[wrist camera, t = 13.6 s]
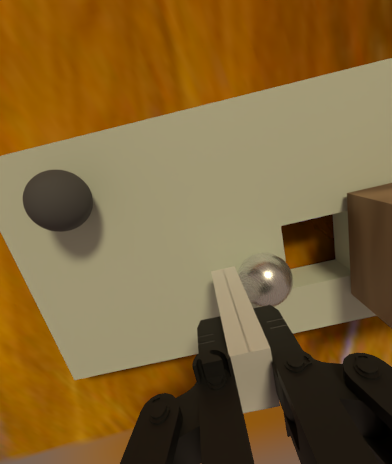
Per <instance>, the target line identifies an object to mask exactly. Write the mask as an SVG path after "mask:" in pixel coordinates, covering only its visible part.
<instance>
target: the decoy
mask: <svg viewBox="0 0 392 464" xmlns="http://www.w3.org/2000/svg"><path fill="white" fill-rule="evenodd" d="M23 206H24V209H25V211H26V213H27V215H28V216H29V218H30V219H31V220H32V221H33V222H34V223H36V224H37V225H38V226H40V227H42V228H44V229H47V230H50V231H57V232H64V231H70V230H73V229H75V228H77V227H79V226H81V225H82V224H83V223H84V222H85V221H86V220H87V219H88V218H89V216H90V214H91V212H92V208H93V197H92V193H91V191H90V189H89V187H88V185H87V184H86V183H85V182H84V181H83V180H82V179H81V178H80V177H78V176H77V175H75V174H73V173H71V172H68V171H64V170H47V171H44V172H41V173H39V174H37V175H35V176H34V177H33V178H32V179H31V180H30V181H29V182H28V183H27V185H26V187H25V189H24V192H23Z"/></svg>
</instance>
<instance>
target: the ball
mask: <svg viewBox="0 0 392 464" xmlns="http://www.w3.org/2000/svg"><path fill="white" fill-rule="evenodd" d="M238 275H239V278H240V280H241V282H242V284H243V287H244V289H245V291H246V293H247V296H248V298H249V300H250V303H252V304H254V305H256V306H259V307H262V306H267V305H272V306H273V307H274V306H277V305H279V304H281V303H283V302H284V301H285V300H286V299H287V298H288V296H289V295H290V293H291V291H292V287H293V276H292V272H291V270H290V268H289V266H288V265H287V263H286V262H285V261H284V260H283V259H281V258H280V257H278V256H276V255H274V254H271V253H257V254H254V255H251V256H250V257H248V258H247V259H246V260H244V262H243V263H242V264H241V266H240V268H239V270H238Z"/></svg>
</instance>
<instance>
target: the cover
mask: <svg viewBox="0 0 392 464" xmlns="http://www.w3.org/2000/svg"><path fill="white" fill-rule="evenodd" d="M347 210H348V232H349V255H350V278H351V294H352V295H353V296H354V297H355V298H357V299H358V300H359V301H360V302H361V303H362V304H364V305H365V306H366V307H367V308H368V309H370V310H371V311H372V312H373V313H374V314H375V315H377V316H378V317H379V318H380V319H381V320H382V321H384V322H385V323H386V324H387V325H388V326H390V327H391V328H392V183H388V184H384V185H380V186H375V187H371V188H367V189H363V190H358V191H354V192H350V193H347Z"/></svg>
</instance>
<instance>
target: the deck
mask: <svg viewBox="0 0 392 464" xmlns="http://www.w3.org/2000/svg"><path fill="white" fill-rule="evenodd" d="M47 170H64V171H68V172H71V173H73V174H75V175H77V176H78V177H80V178H81V179H82V180H83V181H84V182H85V183H86V184H87V185H88V187H89V189H90V191H91V193H92V197H93V208H92V212H91V214H90V216H89V218H88V219H87V220H86V221H85V222H84V223H83V224H82V225H81V226H79V227H77V228H75V229H73V230H70V231H64V232H57V231H50V230H47V229H44V228H42V227H40V226H38V225H37V224H36V223H34V222H33V221H32V220H31V219H30V218H29V216H28V215H27V213H26V211H25V209H24V206H23V192H24V189H25V187H26V185H27V183H28V182H29V181H30V180H31V179H32V178H33V177H34V176H35V175H37V174H39V173H41V172H44V171H47ZM388 183H392V58H390V59H386V60H382V61H378V62H374V63H370V64H366V65H362V66H358V67H354V68H350V69H346V70H342V71H338V72H334V73H330V74H326V75H322V76H318V77H314V78H310V79H306V80H302V81H298V82H294V83H290V84H286V85H282V86H278V87H274V88H270V89H266V90H262V91H258V92H254V93H250V94H246V95H242V96H238V97H234V98H230V99H226V100H222V101H218V102H215V103H211V104H207V105H203V106H199V107H195V108H191V109H187V110H183V111H179V112H175V113H171V114H167V115H163V116H159V117H155V118H151V119H147V120H143V121H139V122H135V123H131V124H127V125H123V126H119V127H115V128H111V129H107V130H103V131H99V132H95V133H91V134H87V135H83V136H79V137H75V138H71V139H67V140H63V141H59V142H55V143H51V144H47V145H43V146H39V147H35V148H31V149H27V150H23V151H19V152H15V153H11V154H7V155H3V156H0V232H1V234H2V236H3V238H4V240H5V242H6V244H7V246H8V248H9V250H10V252H11V254H12V256H13V258H14V260H15V262H16V264H17V266H18V268H19V270H20V272H21V274H22V276H23V278H24V280H25V282H26V284H27V286H28V288H29V290H30V292H31V294H32V296H33V298H34V300H35V302H36V304H37V306H38V308H39V310H40V312H41V314H42V316H43V318H44V320H45V322H46V324H47V326H48V328H49V330H50V332H51V334H52V336H53V338H54V340H55V342H56V344H57V346H58V348H59V350H60V352H61V354H62V356H63V358H64V360H65V362H66V364H67V366H68V368H69V370H70V372H71V374H72V376H73V378H74V380H77V379H82V378H87V377H91V376H96V375H101V374H105V373H110V372H115V371H119V370H124V369H129V368H133V367H138V366H143V365H147V364H152V363H157V362H161V361H166V360H171V359H176V358H180V357H185V356H190V355H194V354H199V353H198V337H197V327H198V325H199V323H200V321H201V320H205V319H209V318H214V317H219V316H220V311H219V307H218V302H217V297H216V293H215V288H214V283H213V278H212V274H211V271H215V270H220V269H224V268H229V267H233V266H235V268H236V271H237V273H238V270H239V268H240V266H241V264H242V263H243V262H244V260H246V259H247V258H248V257H250V256H251V255H254V254H257V253H271V254H274V255H276V256H278V257H280V258H281V259H283V260H284V261H285V253H284V246H283V238H282V231H281V226H283V225H287V224H292V223H296V222H300V221H305V220H309V219H313V218H318V217H322V216H327V215H331V214H333V229H334V245H335V260H330V261H326V262H321V263H317V264H312V265H308V266H303V267H299V268H294V269H290V270H291V272H292V276H293V287H292V291H291V293H290V295H289V296H288V298H287V299H286V300H285V301H284V302H283V303H281V304H279V305H277V306H274V307H275V308H276V309H278V310H279V312H280V313H281V315H282V317H283V319H284V320H285V322H286V323H287V326H288V327H289V328H290V330H291V332H292V333H297V332H302V331H307V330H311V329H316V328H321V327H325V326H330V325H335V324H339V323H344V322H349V321H354V320H358V319H363V318H368V317H372V316H377V315H375V314H374V313H373V312H372V311H371V310H370V309H368V308H367V307H366V306H365V305H364V304H362V303H361V302H360V301H359V300H358V299H357V298H355V297H354V296H353V295H352V294H351V278H350V255H349V232H348V210H347V193H350V192H354V191H358V190H363V189H367V188H371V187H375V186H380V185H384V184H388ZM285 262H286V261H285ZM251 305H252V307H253V308H258V307H259V306H256V305H254V304H252V303H251Z"/></svg>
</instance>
